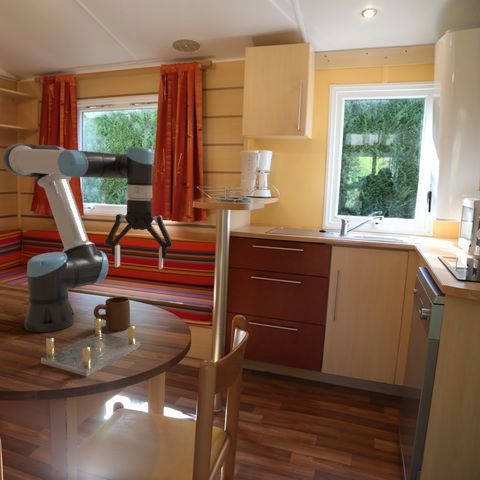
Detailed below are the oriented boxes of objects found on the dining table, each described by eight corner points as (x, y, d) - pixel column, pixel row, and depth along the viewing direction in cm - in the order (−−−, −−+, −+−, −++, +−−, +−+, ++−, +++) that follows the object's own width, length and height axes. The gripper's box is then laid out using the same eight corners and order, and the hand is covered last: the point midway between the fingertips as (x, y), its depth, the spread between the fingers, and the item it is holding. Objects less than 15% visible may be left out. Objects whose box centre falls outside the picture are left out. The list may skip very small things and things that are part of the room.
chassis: (41, 363, 104) (40, 339, 103) (98, 337, 122) (97, 316, 121) (86, 376, 97) (85, 351, 96) (140, 346, 115) (139, 325, 114)
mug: (100, 337, 122) (99, 307, 120) (88, 331, 127) (87, 302, 125) (134, 327, 130) (134, 299, 129) (122, 321, 135) (121, 295, 134)
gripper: (94, 198, 117) (94, 268, 120) (178, 202, 117) (177, 271, 121) (102, 196, 124) (103, 262, 128) (182, 200, 125) (180, 266, 128)
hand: (139, 267), depth 124 cm, fingers open, 13 cm apart
